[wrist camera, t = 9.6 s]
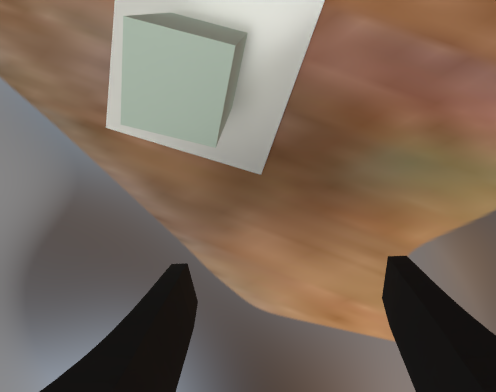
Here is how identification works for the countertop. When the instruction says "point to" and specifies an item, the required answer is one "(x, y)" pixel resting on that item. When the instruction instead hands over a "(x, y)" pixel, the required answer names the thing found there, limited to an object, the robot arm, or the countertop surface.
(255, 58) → the plate
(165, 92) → the block
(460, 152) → the countertop surface
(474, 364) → the robot arm
